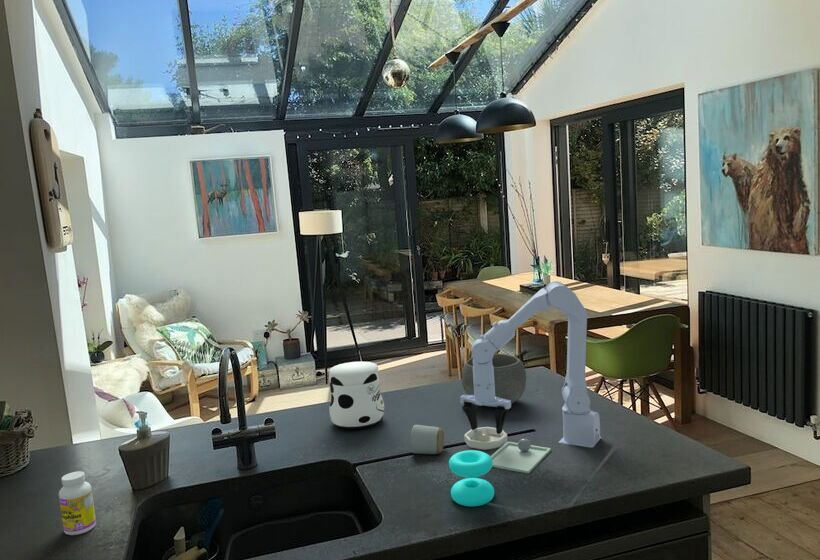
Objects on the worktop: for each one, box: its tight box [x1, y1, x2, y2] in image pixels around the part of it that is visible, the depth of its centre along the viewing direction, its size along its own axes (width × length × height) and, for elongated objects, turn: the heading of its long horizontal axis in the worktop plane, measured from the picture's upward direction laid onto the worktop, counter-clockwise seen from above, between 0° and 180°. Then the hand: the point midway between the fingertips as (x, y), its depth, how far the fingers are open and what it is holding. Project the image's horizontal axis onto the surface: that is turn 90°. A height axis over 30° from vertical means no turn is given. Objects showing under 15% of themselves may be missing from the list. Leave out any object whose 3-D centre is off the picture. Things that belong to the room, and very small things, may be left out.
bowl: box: [461, 353, 527, 408], centre depth 210 cm, size 21×21×15 cm
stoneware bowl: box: [463, 426, 509, 450], centre depth 179 cm, size 11×11×2 cm
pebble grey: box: [472, 429, 483, 441], centre depth 179 cm, size 3×3×3 cm
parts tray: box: [489, 441, 552, 475], centre depth 166 cm, size 12×15×1 cm
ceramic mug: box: [409, 424, 445, 455], centre depth 176 cm, size 11×8×8 cm
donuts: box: [448, 449, 495, 507], centre depth 147 cm, size 10×10×10 cm
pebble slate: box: [517, 437, 532, 452], centre depth 170 cm, size 3×3×3 cm
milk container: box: [328, 361, 385, 430], centre depth 202 cm, size 17×17×18 cm
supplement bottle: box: [58, 470, 97, 536], centre depth 146 cm, size 7×7×13 cm
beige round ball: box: [478, 433, 490, 442], centre depth 175 cm, size 3×3×3 cm
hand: (486, 430), depth 177 cm, fingers open, 7 cm apart
